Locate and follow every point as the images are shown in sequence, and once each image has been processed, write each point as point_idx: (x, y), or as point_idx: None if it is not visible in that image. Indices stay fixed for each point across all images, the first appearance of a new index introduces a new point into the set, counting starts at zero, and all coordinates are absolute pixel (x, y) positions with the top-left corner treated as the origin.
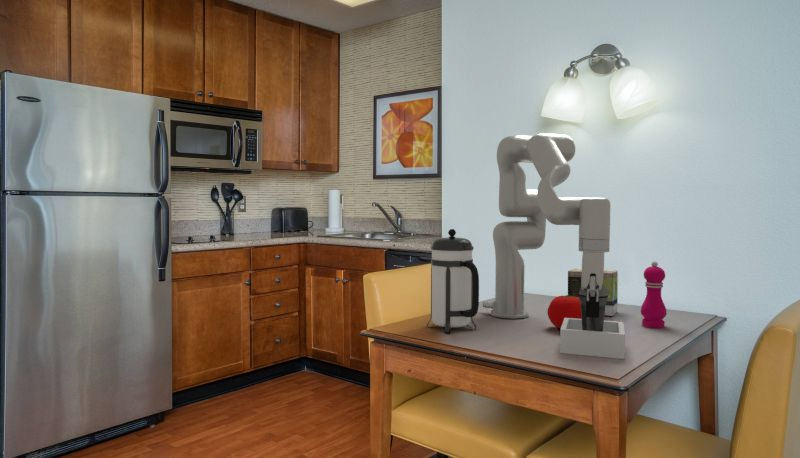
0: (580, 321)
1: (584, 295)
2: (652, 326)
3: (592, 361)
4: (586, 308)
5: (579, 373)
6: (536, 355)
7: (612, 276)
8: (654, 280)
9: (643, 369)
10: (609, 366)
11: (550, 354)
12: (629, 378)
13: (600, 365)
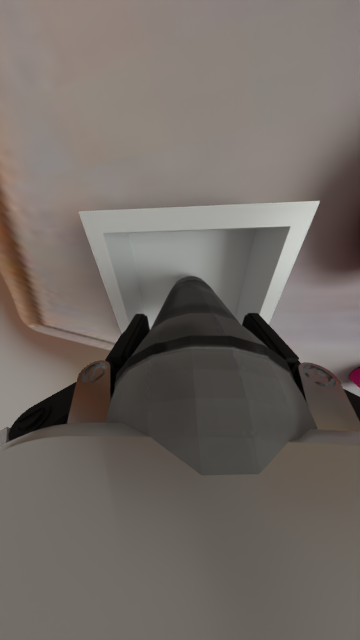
0: (270, 272)
1: (119, 378)
2: (356, 372)
3: (101, 292)
4: (126, 333)
5: (14, 275)
6: (49, 141)
7: None
8: None
9: (109, 348)
10: (92, 315)
11: (90, 192)
12: (58, 335)
13: (87, 304)
